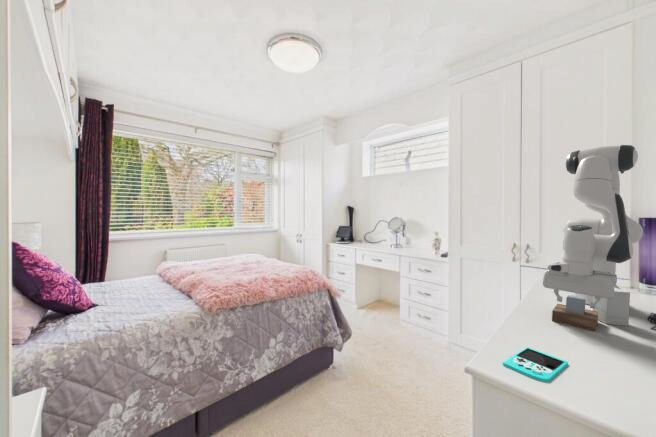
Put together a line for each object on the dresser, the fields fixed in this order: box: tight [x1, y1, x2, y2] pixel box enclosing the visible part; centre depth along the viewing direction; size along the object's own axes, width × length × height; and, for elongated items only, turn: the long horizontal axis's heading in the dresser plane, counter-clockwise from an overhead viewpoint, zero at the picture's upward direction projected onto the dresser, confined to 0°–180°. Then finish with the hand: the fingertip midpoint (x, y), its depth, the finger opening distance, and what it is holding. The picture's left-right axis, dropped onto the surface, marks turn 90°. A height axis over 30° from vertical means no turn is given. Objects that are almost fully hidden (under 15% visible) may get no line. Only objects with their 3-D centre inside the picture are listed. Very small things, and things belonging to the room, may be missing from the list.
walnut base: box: [551, 303, 599, 332], centre depth 105 cm, size 12×12×4 cm
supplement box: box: [592, 287, 631, 327], centre depth 106 cm, size 7×7×13 cm
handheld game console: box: [502, 346, 569, 382], centre depth 75 cm, size 10×16×1 cm, turn 124°
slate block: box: [565, 295, 586, 315], centre depth 105 cm, size 5×5×5 cm
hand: (575, 304), depth 105 cm, fingers open, 8 cm apart
